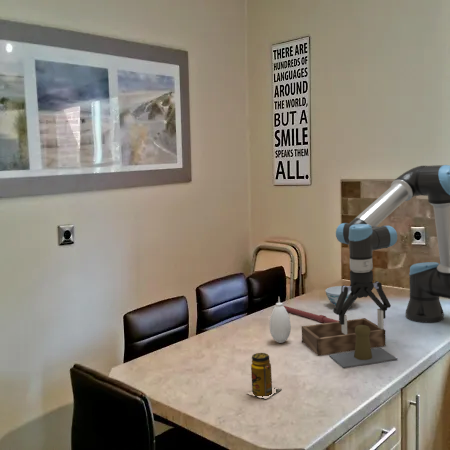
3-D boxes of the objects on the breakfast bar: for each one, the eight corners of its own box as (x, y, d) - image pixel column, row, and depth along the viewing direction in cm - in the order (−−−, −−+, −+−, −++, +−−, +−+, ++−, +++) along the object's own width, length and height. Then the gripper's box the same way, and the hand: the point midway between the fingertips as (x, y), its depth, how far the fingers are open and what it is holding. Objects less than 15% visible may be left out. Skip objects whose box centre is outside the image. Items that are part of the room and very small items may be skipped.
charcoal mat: (380, 349, 194) (380, 347, 194) (397, 360, 183) (397, 358, 183) (329, 356, 189) (329, 355, 189) (343, 368, 178) (343, 366, 178)
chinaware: (362, 310, 241) (362, 293, 240) (329, 311, 241) (328, 295, 240) (355, 301, 256) (354, 285, 255) (323, 302, 256) (322, 286, 255)
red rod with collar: (356, 330, 215) (356, 323, 215) (351, 332, 213) (351, 325, 213) (279, 308, 251) (279, 302, 250) (274, 310, 249) (274, 303, 248)
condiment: (246, 394, 163) (244, 356, 162) (262, 384, 170) (261, 348, 168) (265, 400, 158) (264, 361, 157) (282, 390, 165) (280, 352, 163)
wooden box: (365, 332, 211) (364, 318, 211) (385, 345, 197) (385, 330, 196) (302, 341, 205) (301, 326, 205) (318, 355, 191) (317, 339, 190)
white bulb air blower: (295, 341, 206) (293, 295, 204) (282, 347, 200) (280, 300, 198) (278, 337, 211) (277, 292, 209) (266, 343, 206) (264, 297, 203)
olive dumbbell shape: (372, 360, 182) (372, 329, 181) (354, 359, 184) (353, 328, 182) (371, 353, 188) (371, 323, 187) (353, 353, 190) (353, 323, 188)
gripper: (331, 276, 176) (333, 339, 178) (400, 268, 181) (401, 329, 184) (322, 271, 183) (324, 332, 186) (388, 264, 188) (389, 322, 191)
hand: (362, 330), depth 185 cm, fingers open, 13 cm apart
